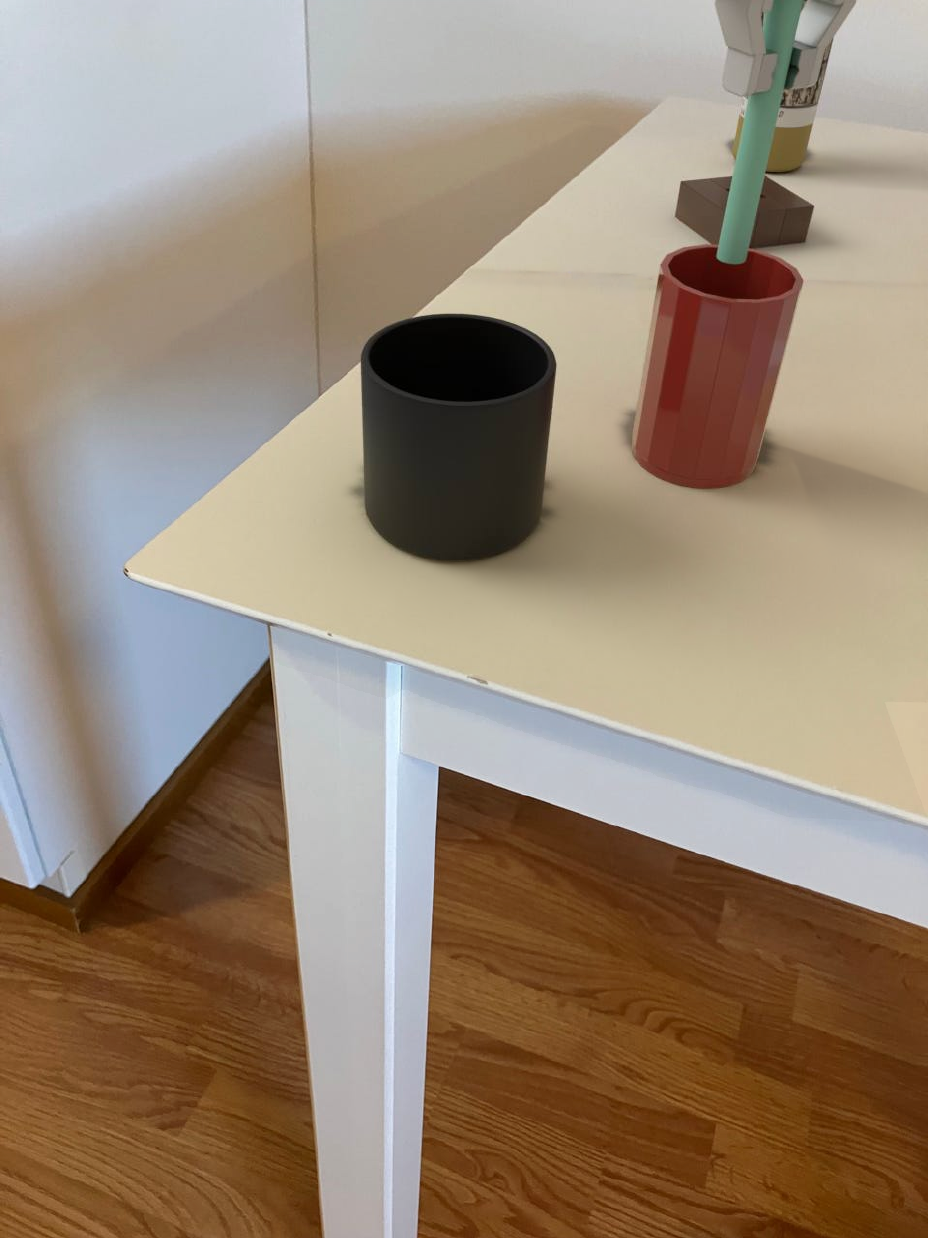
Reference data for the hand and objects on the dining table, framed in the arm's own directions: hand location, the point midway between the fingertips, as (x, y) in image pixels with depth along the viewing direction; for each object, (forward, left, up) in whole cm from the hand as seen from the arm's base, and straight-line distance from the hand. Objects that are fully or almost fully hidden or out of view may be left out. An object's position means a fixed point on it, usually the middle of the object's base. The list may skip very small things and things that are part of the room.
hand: (768, 88), depth 49 cm
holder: (-9, -32, -20) cm, 39 cm away
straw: (0, 0, -8) cm, 8 cm away
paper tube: (-16, -52, -20) cm, 58 cm away
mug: (+14, +5, -20) cm, 25 cm away
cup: (0, 0, -20) cm, 20 cm away
